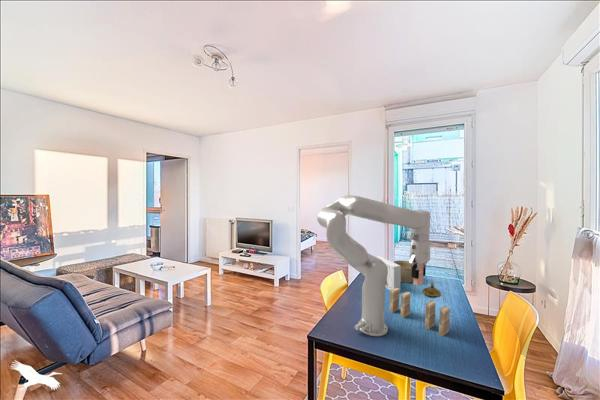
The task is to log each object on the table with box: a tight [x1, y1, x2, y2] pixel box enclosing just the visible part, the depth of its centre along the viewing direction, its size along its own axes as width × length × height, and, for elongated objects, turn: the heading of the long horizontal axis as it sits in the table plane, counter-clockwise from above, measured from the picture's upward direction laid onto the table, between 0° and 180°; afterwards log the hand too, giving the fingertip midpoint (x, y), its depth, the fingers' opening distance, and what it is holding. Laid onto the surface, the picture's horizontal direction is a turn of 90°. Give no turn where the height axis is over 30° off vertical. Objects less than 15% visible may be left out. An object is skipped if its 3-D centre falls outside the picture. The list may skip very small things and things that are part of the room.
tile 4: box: [438, 305, 451, 337], centre depth 110 cm, size 2×5×11 cm, turn 126°
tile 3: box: [424, 300, 437, 330], centre depth 115 cm, size 2×5×11 cm, turn 126°
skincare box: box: [375, 255, 402, 293], centre depth 161 cm, size 21×6×16 cm, turn 17°
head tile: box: [389, 288, 400, 314], centre depth 129 cm, size 2×5×11 cm, turn 126°
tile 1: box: [400, 291, 412, 318], centre depth 124 cm, size 2×5×11 cm, turn 126°
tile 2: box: [412, 261, 424, 286], centre depth 118 cm, size 2×5×11 cm, turn 126°
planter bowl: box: [393, 260, 414, 284], centre depth 170 cm, size 16×16×11 cm
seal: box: [422, 282, 441, 298], centre depth 151 cm, size 9×5×15 cm
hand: (418, 276), depth 119 cm, fingers closed on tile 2, 4 cm apart
